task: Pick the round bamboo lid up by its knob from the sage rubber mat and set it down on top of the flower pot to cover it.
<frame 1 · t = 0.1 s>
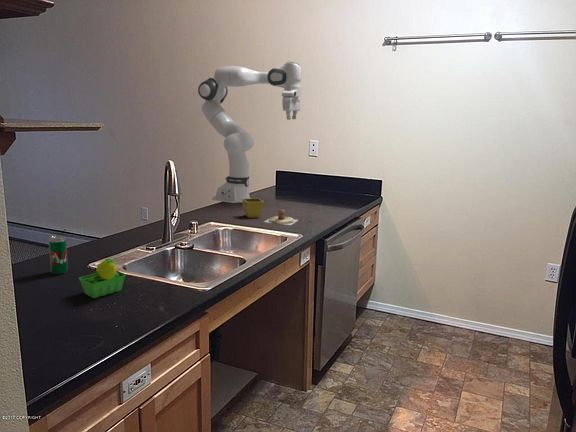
hand: (291, 119, 265), 48 cm above the countertop, tool pointing down, fingers open, 8 cm apart
flower pot: (252, 217, 245), on the countertop
fruit basket: (104, 293, 145), on the countertop
mat: (281, 221, 238), on the countertop
soda can: (59, 273, 160), on the countertop
lid: (281, 220, 238), resting on mat
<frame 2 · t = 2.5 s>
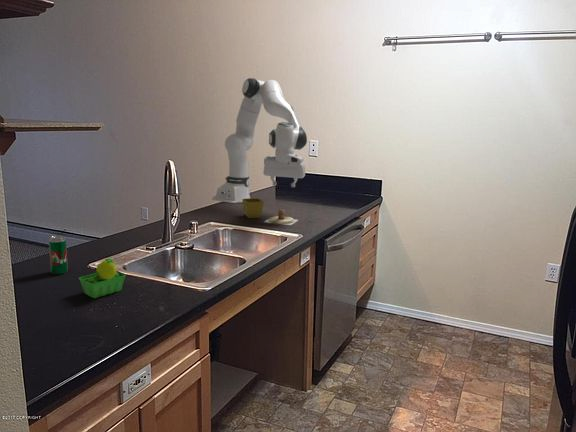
hand: (283, 186, 235), 18 cm above the countertop, tool pointing down, fingers open, 8 cm apart
nothing on the countertop moved.
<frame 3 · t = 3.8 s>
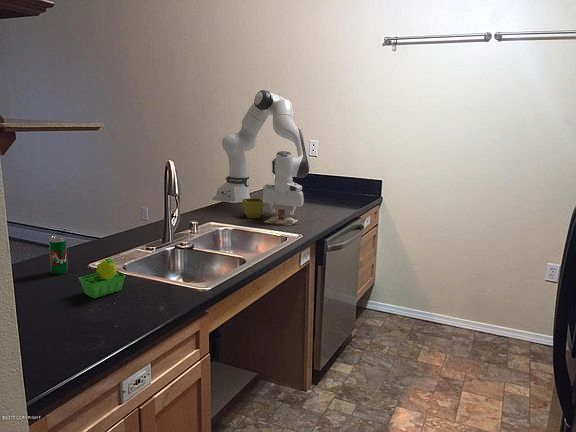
hand: (282, 213, 237), 4 cm above the countertop, tool pointing down, fingers open, 8 cm apart
nothing on the countertop moved.
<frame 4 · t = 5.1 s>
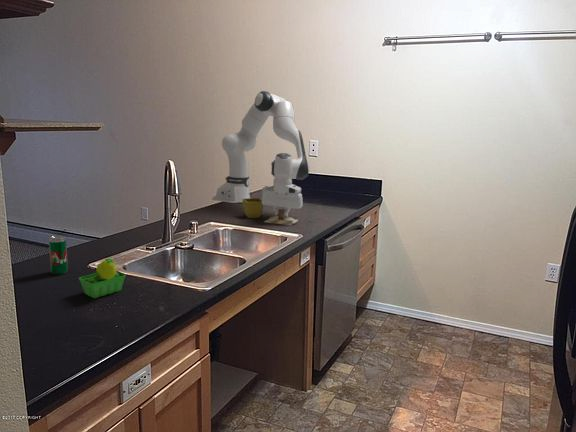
hand: (281, 215, 238), 3 cm above the countertop, tool pointing down, fingers closed on lid, 3 cm apart
lid: (281, 220, 238), resting on mat, touching gripper
everything else where it was.
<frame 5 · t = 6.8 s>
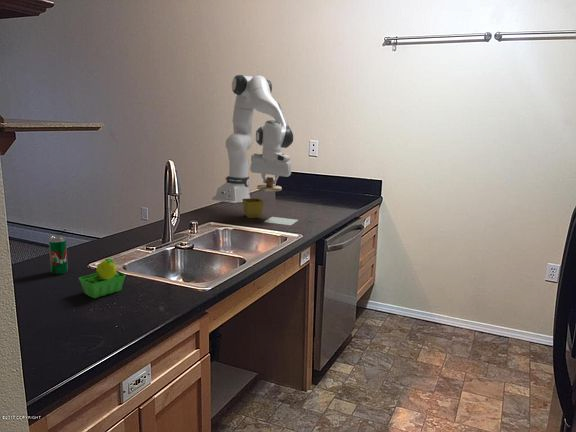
hand: (269, 183, 237), 18 cm above the countertop, tool pointing down, fingers closed on lid, 3 cm apart
lid: (269, 188, 238), point 16 cm above the countertop, touching gripper
everything else where it was.
when the fingers open (13 cm above the countertop, at t = 8.7 s): lid drops 2 cm, resting on flower pot.
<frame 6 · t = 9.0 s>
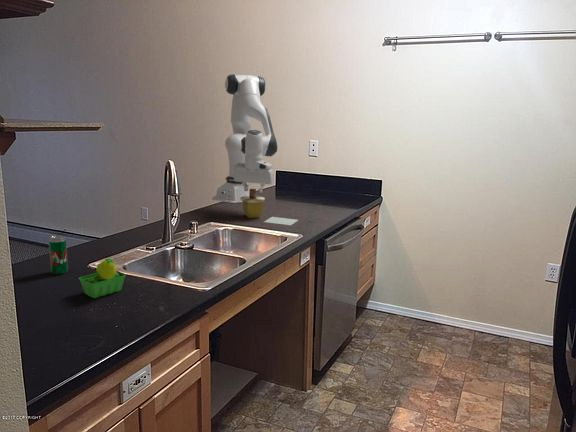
hand: (253, 191, 242), 13 cm above the countertop, tool pointing down, fingers open, 6 cm apart
flower pot: (252, 217, 245), on the countertop, touching lid
lid: (252, 200, 243), point 9 cm above the countertop, touching flower pot
everything else where it was.
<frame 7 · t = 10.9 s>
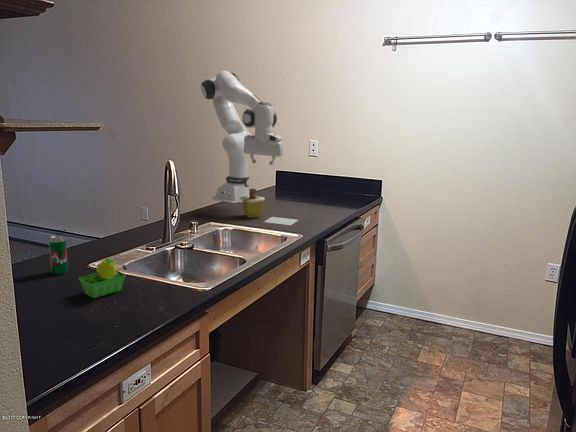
hand: (262, 164, 244), 26 cm above the countertop, tool pointing down, fingers open, 8 cm apart
nothing on the countertop moved.
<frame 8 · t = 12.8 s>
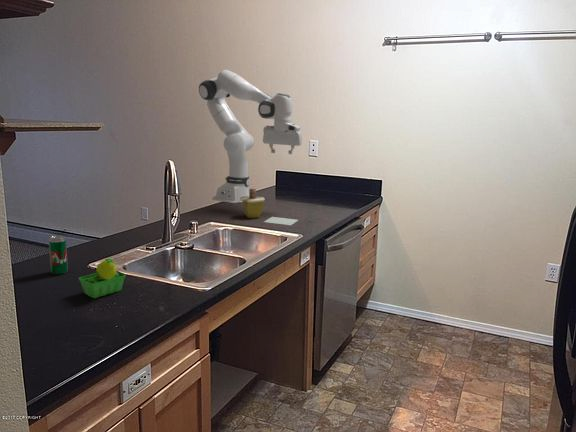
hand: (281, 153, 252), 31 cm above the countertop, tool pointing down, fingers open, 8 cm apart
nothing on the countertop moved.
at the end: lid inside the target area on the flower pot (0.3 cm from its centre), point 9.2 cm above the flower pot's base; lid touching flower pot; the gripper is holding nothing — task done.
